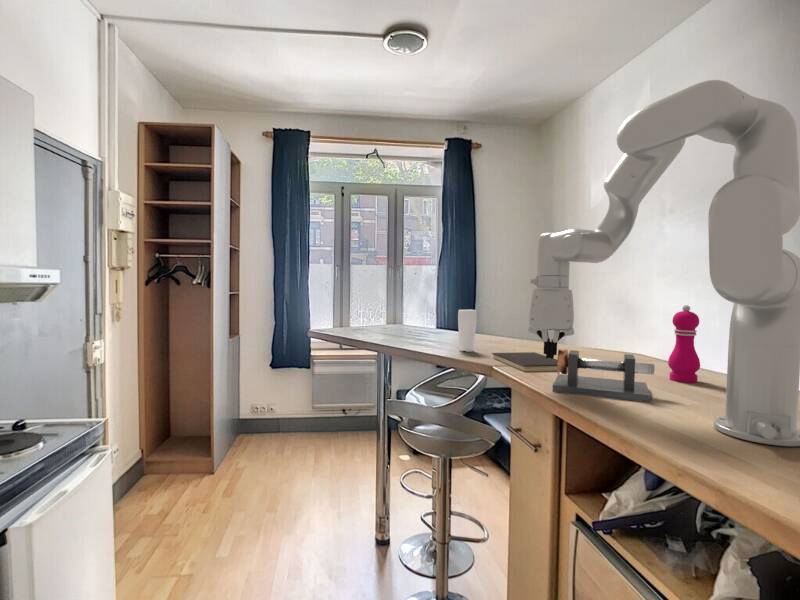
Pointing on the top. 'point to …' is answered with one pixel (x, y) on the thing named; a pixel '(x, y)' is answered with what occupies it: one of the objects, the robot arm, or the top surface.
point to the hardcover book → (527, 361)
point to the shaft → (600, 364)
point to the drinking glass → (467, 329)
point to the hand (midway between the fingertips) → (550, 357)
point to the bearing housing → (602, 382)
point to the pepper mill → (684, 347)
